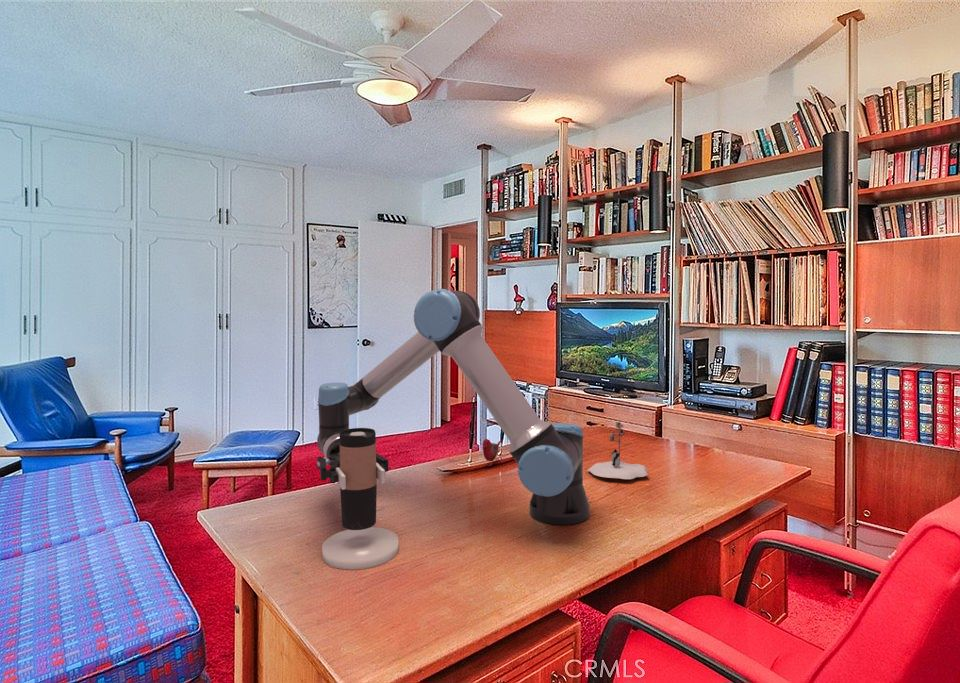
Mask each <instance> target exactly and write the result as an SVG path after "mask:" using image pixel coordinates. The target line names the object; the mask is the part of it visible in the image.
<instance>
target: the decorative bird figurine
mask: <svg viewBox="0 0 960 683" xmlns="http://www.w3.org/2000/svg"><path fill="white" fill-rule="evenodd" d="M501 443H502V439H500V440H499V441H498V442H497V443H496V442H495V443H494V442H491V440H490V439H488V438H484V440H483V441H482V452H483V456H484V459H485V460H486V461H488V462H490V463H489V464H488V467H492V465H493V464H494V462H491V461H494V460H495V459H496V457H497V455H498V453H499V446H500V445H501Z"/></svg>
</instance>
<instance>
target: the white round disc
mask: <svg viewBox="0 0 960 683" xmlns="http://www.w3.org/2000/svg"><path fill="white" fill-rule="evenodd" d="M399 549H400V548H399V537H398V535H397V534H396V533H395V532H394V531H392V530H390V529H387V528H382V527H378V526H377V527H376V526H375V527H374V526H372V527H370V528H367V529H363V530H348V529H345V530H343V531H339V532H337V533H334V534H333V535H331V536H329V537H328V538H326V539H325V540H324V542H323V544H322V547H321V553H322V554H321V555H322V557H321V558H322V560H323V562H324V563H325V564H326V565H328V566H330V567H332V568H335V569H339V570H348V571H349V570H351V571H353V570H355V571H357V570H364V569H370V568H374V567H378V566H381V565H383V564H385V563H387V562H389V561H391V560H393V558H394V557H395V556H396V555H397V554H398V553H399Z"/></svg>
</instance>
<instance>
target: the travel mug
mask: <svg viewBox="0 0 960 683" xmlns="http://www.w3.org/2000/svg"><path fill="white" fill-rule="evenodd" d="M376 438H377V437H376V430H375V429H373V428H370V427H354V428H349V429H346V430H343V431H341V432H340V470H341V471H342V472H343V473H344V475H345V479H346V489H344V490H342V489H341V488H340V487H339V488H340V490H339V491H340V507H341V510H340V511H341V525H342V527H343V528H344V529H345V530H363V529H367V528H370V527H374V526H375V524H376V523H377V490H378V486H377V482H378V479H377V473H376V453H377V443H376V441H377V439H376Z"/></svg>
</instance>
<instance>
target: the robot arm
mask: <svg viewBox="0 0 960 683" xmlns="http://www.w3.org/2000/svg"><path fill="white" fill-rule="evenodd" d="M480 317H481V311H480V307H479V304H478V302H477V301H476V299H475V298H474V297H473V296H472V295H471V294H470V293H468V292H465V291H463V290H450V289H445V288H439V289H433V290H430V291H428V292H426V293H424V294H423V295H421V297H420V298H419V299H418V301H417V302H416V305H415V306H414V312H413V323H414V326H415V328H416V330H417V332H416V333H415V334H414V335H413V336H412V337H410V338H409V339H408V340H406V341H405V342H404V343H403V344H401V345H400V346H399V347H398V348H397V349H396V350H394V351H393V352H392V353H391V354H390V355H388V356H387V357H386V358H385V359H383V360H382V361H381V362H379V364H377V365H376V366H375V367H374V368H372V370H370V371H369V372H368V373H367V374H366V375H364V376H363V377H362V378H360V379H359V380H358V381H357V382H355V384H353V385H350V386H349V385H348V384H347V383H345V382H328V383H327V382H326V383H322V384H321V385H320V386H319V387H318V399H317V403H318V404H317V405H318V423H319V424H318V435H317V438H316V442H317V448H318V449H319V451H320V453H321V454H323V456H324V457H323V456H318V457H316V464H317V465H316V467H317V468H316V469H318V470H319V471H320V472H319V474H320V476H319V477H320V481H326V480H327V479H328V478H329V484H336V483H337V485H338V486H339V488H341V489H342V490H344V489H346V479H345V475H344V473H343V472H342V471H341V470H340V432H341V431H343V430H346V429H350V416H351V415H354V414H357V413H360V412H363V411H367V410H370V409H371V408H373V407H375V406H376V405H377V404H378V403H379V401H380V399H381V398H382V397H383V396H384V395H386V394H387V393H388V392H389V391H391V390H392V389H393V388H395V387H396V386H397V385H398V384H400V383H401V382H402V381H404V380H405V379H406V378H407V377H409V376H410V375H412V373H413V372H415V371H416V370H417V369H418V368H420V367H422V366H423V365H424V364H425V363H426V362H428V361H429V360H430V359H431V358H433V357H434V356H435V355H436V354H438V353H439V352H440V354H441V355H443V356H447V357H451V358H452V359H453V361H454V362H455V363H456V365H457V366H458V368H459V370H460V371H461V373H462V374H463V375H464V377H465V379H466V380H467V381H468V383H469V384H470V386H471V387H472V389H473V390H474V391H475V393H476V395H478V397H479V398H480V400H481V401H482V403H483V404H484V406H485V407H486V409H487V410H488V411H489V413H490V414H491V416H492V417H493V419H494V420H495V422H496V423H497V424H498V426H499V427H500V429H501V431H502V432H503V433H504V435H505V436H506V438H507V439H508V441H509V449H508V452H509V454H510V456H511V457H512V459H513V460H514V461H515V462H516V465H518V466H517V473H518V477H519V480H520V483H521V484H522V485H523V487H525V489H527V490H528V492H530V493H532V494H531V497H530V501H529V509H528V510H529V515H530V517H532V518H533V519H535V520H536V521H539V522H541V523H542V522H543V523H545V524H550V525H561V526H562V525H564V526H565V525H568V526H569V525H576V524H579V523H583V522H585V521H587V520H588V519H589V518H590V517H591V516H590V515H591V511H590V510H591V506H590V502H589V499H588V497H587V494H586V489H585V486H584V483H583V482H584V474H583V473H584V469H583V468H584V460H583V459H584V439H585V437H584V432H583V427H582V426H581V425H580V424H575V423H570V422H550V421H544V420H542V419H540V417H539V416H538V414H537V413H536V412H535V410H534V408H533V407H532V406H531V404H530V403H529V402H528V400H527V399H526V397H525V395H524V394H523V393H522V391H521V390H520V389H519V387H518V386H517V384H516V383H515V381H514V380H513V379H512V377H511V375H510V374H509V373H508V372H507V370H506V369H505V367H504V366H503V364H502V363H501V362H500V360H499V359H498V358H497V356H496V354H495V353H494V352H493V350H492V349H491V348H490V346H489V345H488V343H487V341H486V340H485V339H484V337H483V336H482V335H483V325H482V323H481V322H480V319H481V318H480ZM328 465H329V466H330V467H329V469H327V466H328ZM389 466H390V465H389V459H387V458H386V457H384V456H382V455H381V454H379V453H377V452H376V473H377V481H379V483H380V484H386V473H387V472H389V469H390V468H389Z"/></svg>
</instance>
